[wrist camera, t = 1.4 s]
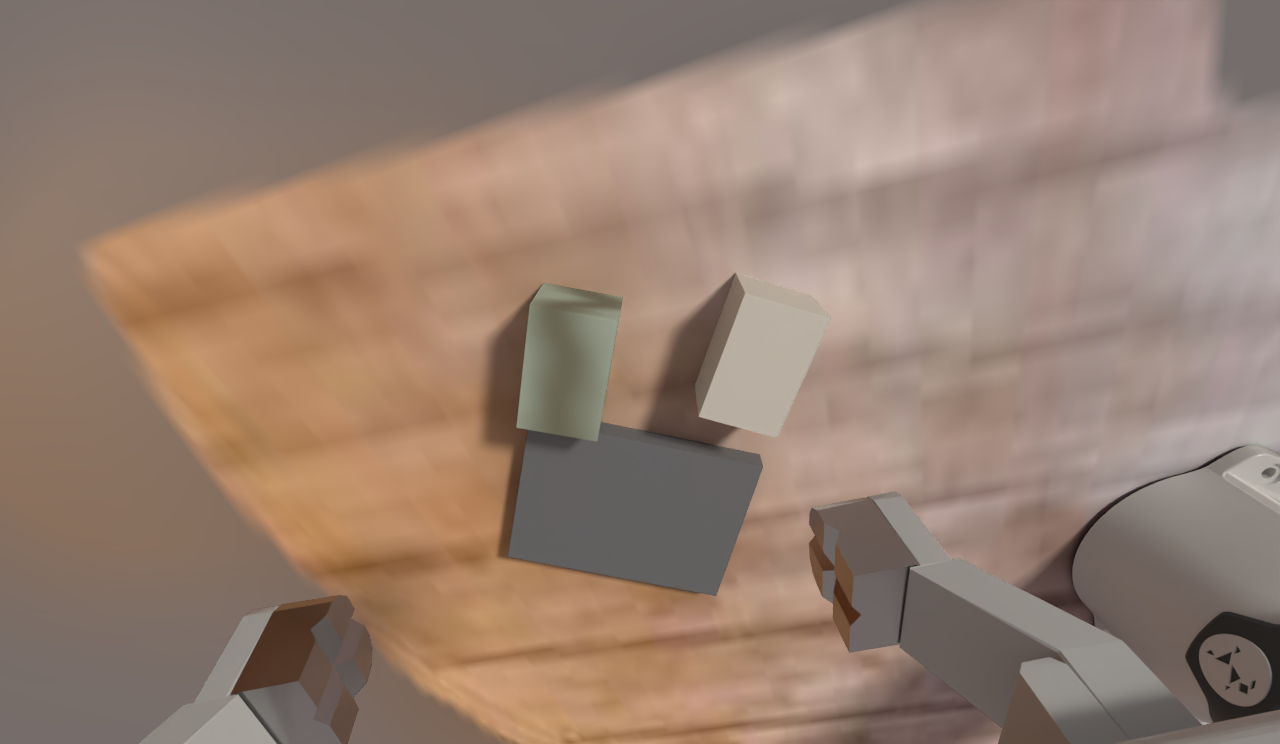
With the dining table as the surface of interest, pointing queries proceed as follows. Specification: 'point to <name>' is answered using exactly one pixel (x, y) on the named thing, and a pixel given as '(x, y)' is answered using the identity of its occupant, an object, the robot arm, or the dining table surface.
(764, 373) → the cream brick
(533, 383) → the sage brick
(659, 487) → the base plate
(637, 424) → the dining table surface
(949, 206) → the dining table surface
